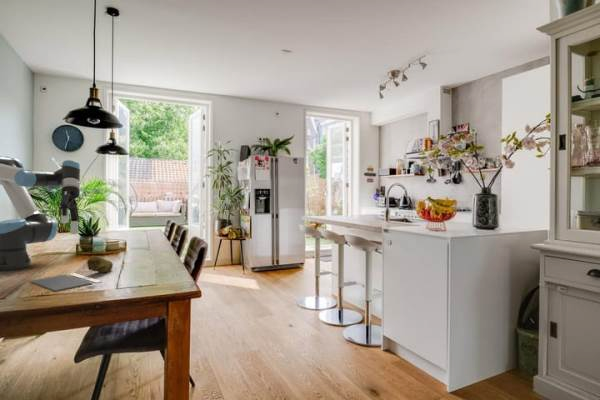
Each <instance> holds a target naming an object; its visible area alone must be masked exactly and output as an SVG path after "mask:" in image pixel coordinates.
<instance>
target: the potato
mask: <svg viewBox="0 0 600 400" xmlns="http://www.w3.org/2000/svg"><path fill="white" fill-rule="evenodd" d="M86 263H87V267H88V270H89V271H93V272H99V273H108V272H110V271H112V269H113V265H114V263H113V262H112V261H110V260H108V259H105V258H103V257H101V256H93V257H90V258H89V259H88V260H87V262H86Z"/></svg>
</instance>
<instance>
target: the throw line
mask: <svg viewBox="0 0 600 400" xmlns="http://www.w3.org/2000/svg"><path fill="white" fill-rule="evenodd" d="M68 276H71V277H74V278H77V279H81V280H84V281H87V282H90V283H95V284H98V283H102V282H103V280H99V279H96V278H92V277H90V276H86V275H83V274H79V273H76V272H75V273H69V274H68Z"/></svg>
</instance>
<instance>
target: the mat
mask: <svg viewBox="0 0 600 400" xmlns="http://www.w3.org/2000/svg"><path fill="white" fill-rule="evenodd" d="M29 282H30V283H31V282H32V283H31V284H35V285H36V286H40V287H42V288H45V289H48V290H51V291H53V292H60V291H65V290H69V289H75V288H80V287H84V286H89V285H92V284H93V282H91V281H87V280H84V279H81V278H78V277H74V276H71V275H67V274H60V275H54V276H50V277H43V278H37V279H32V280H29Z"/></svg>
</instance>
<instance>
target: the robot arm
mask: <svg viewBox="0 0 600 400" xmlns="http://www.w3.org/2000/svg"><path fill="white" fill-rule="evenodd" d="M80 168H81V167H80V163H79V162H78V161H76V160H73V159H67V160H64V161H62V165H61V168H59V169H58V170H56V171H53V172H52V171H37V170H32V169H31V170H30V169H26V168H24V165H23V163H22V162H21V161H20V160H19V159H18V158H15V157H10V156H0V186H2V187H3V188H2V189H4V191H5V193H6V195H7V196H8V199H9V200H10V202H11V203H12V205H13V207H14V209H15V211H16V212H17V214H18V216H19V218H14V219H13V218H12V219H6V220H2V221H0V271H1V272H3V271H13V270H15V271H16V270H21V269H26V268H29V267H31V266H32V260H31V257H30V256H29V253H28V250H27V245H30V244H31V245H32V244H38V243H45V242H50V241H52V240H53V239H54V238H55V237H56V235H57V234H58V233H57V232H58V225H57V222H56V221H55V219H51V218H49V219H48V217H47V215H46V214H45V213H43V212H40V210H39V208H38V206H37V205H36V203H35V202H34V200H33V198H32V196H31V194H30V192H29V191H28V188H29V187H31V188H35V187H37V188H39V187H41V188H42V187H43V188H46V189H48V190H50V191H51V190H52V191H53V190H56V189H60V188H61V191H60V192H61V193H60V195H61V199H60V203H59V206H58V208H59V210H61V211H60V212H61V217H60V218H61V219H60V223H61V224H66V223H69V220H71V221H70V234H71V235H75V234H78V232H79V231H78V230H79V228H78V227H79V226H78V225H79V223H80V221H81V220H80V217H79V210H78V202H77V200H76V199H77V198H80V185H81V184H82V183H81V182H80V179H81V176H80V175H81V174H80V173H81V169H80ZM69 216H70V219H69Z"/></svg>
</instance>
